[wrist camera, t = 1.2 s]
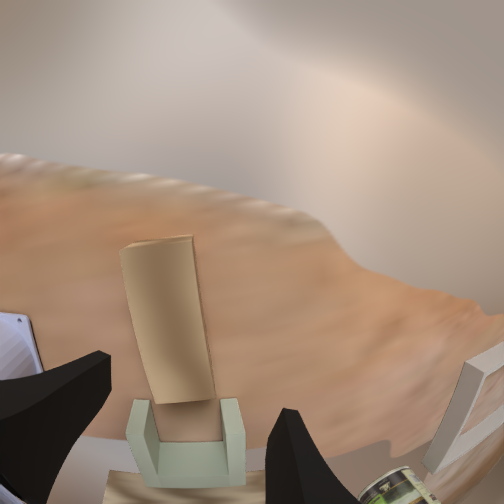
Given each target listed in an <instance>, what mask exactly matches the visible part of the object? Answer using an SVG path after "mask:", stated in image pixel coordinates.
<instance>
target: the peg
mask: <svg viewBox="0 0 504 504" xmlns="http://www.w3.org/2000/svg"><path fill="white" fill-rule="evenodd" d="M119 254H120V260H121V267H122V273H123V278H124V284H125V289H126V295H127V300H128V304H129V309H130V314H131V318H132V323H133V327H134V331H135V335H136V339H137V343H138V347H139V351H140V354H141V358H142V362H143V365H144V369H145V372H146V375H147V379H148V382H149V385H150V388H151V392H152V395H153V398H154V401H155V404H164V403H178V402H189V401H199V400H208V399H216V393H215V386H214V378H213V370H212V362H211V357H210V351H209V345H208V339H207V333H206V326H205V320H204V313H203V307H202V300H201V293H200V286H199V278H198V270H197V263H196V254H195V246H194V237H193V234H190V235H181V236H173V237H164V238H156V239H148V240H140V241H136V242H134V243H132V244H130V245H128V246H127V247H125V248H123V249H121V250H119Z"/></svg>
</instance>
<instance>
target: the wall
mask: <svg viewBox="0 0 504 504" xmlns="http://www.w3.org/2000/svg"><path fill="white" fill-rule="evenodd" d="M103 504H265V470H259V471H251V472H246V485H241V486H231V487H216V488H158V487H147V486H146V484H145V482H144V480H143V478H142V475H141V474H140V473H130V472H121V471H114V470H110V471H109V476H108V480H107V485H106V489H105V494H104V499H103Z"/></svg>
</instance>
